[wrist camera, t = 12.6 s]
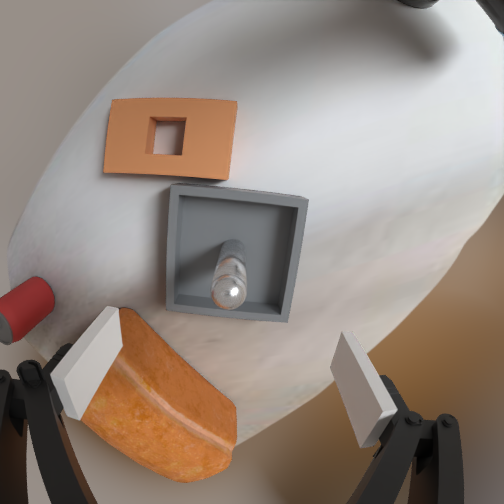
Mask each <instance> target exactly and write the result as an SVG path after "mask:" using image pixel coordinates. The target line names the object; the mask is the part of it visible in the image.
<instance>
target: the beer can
mask: <svg viewBox="0 0 504 504" xmlns="http://www.w3.org/2000/svg"><path fill="white" fill-rule="evenodd" d="M54 304H55V301H54V295H53V292H52V290H51V288H50V286H49V285H48V284H47V282H45V281H44V280H43V279H42V278H39V277H32V278H30V279H28V280H27V281H25V282H24V283H22V284H20V285H19V286H17V287H16V288H14V289H13V290H11V291H10V292H8V293H7V294H5V295H4V296H2V297H1V298H0V342H1V343H3V344H5V345H10V344H11V343H14V342H16V341H19V340H21V339H22V338H23V337H24V336H25V335H26V334H27V333H28V332H29V331H31V330H32V329H33V328H34V327H35V326H36V325H37V324H38V323H39V322H40V321H42V320H43V319H44V318H45V317H46V316H47V315H48V314H49V313H51V311H52V310H53V308H54Z"/></svg>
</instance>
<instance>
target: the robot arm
mask: <svg viewBox="0 0 504 504" xmlns="http://www.w3.org/2000/svg"><path fill="white" fill-rule="evenodd" d="M398 1H400V2H402V3H405V4H407V5H410V6H413V7H417V8H428V7H431V6H432V5H434V4H435V3H436V2H438V1H439V0H398ZM476 1H477V3H478V4H479V5H480V6H481V7H482V9H483V10H484V11H485V12H486V14H487V15H488V16H489V18H490V19H491V20H492V22H493V23H494V24H495V27H496V29H497V30H498V31H499V32H500V33H501V34H502V35H503V37H504V0H476ZM122 346H123V344H122V337H121V328H120V319H119V309H118V308H115V307H110V306H107V307H106V308H105V309H104V310H103V311H102V312H101V313H100V315H99V316H98V317H97V318H96V319H95V320H94V322H93V323H92V324H91V325H90V326H89V327H88V328H87V330H86V331H85V332H84V333H83V334H82V336H81V337H80V338H79V339H78V340H77V342H76V343H75V344H74V345H73V344H70V343H68V344H66V345H64V346H62V347H61V348H60V349H59V350H58V351H57V352H56V354H55V355H54V356H53V357H52V359H50V361H49V362H48V363H47V364H46V366H45V367H44V368H43V369H42V368H41V365H40V363H38V362H37V361H35V360H26V361H23V362H22V363H20V364H19V365H18V367H17V373H18V376H19V378H20V380H17V379H12V378H11V376H10V374H9V372H7V371H6V370H0V504H28V493H27V473H26V450H27V428H28V427H27V426H28V425H29V430H30V435H31V439H32V444H33V448H34V452H35V455H36V459H37V462H38V466H39V469H40V473H41V476H42V479H43V482H44V485H45V487H46V491H47V493H48V496H49V498H50V501H51V504H97V501H96V499H95V498H94V496H93V494H92V492H91V490H90V488H89V485H88V483H87V481H86V479H85V477H84V475H83V472H82V470H81V468H80V465H79V463H78V461H77V458H76V456H75V453H74V451H73V448H72V445H71V443H70V440H69V437H68V434H67V431H66V428H65V425H64V422H63V419H62V416H61V414H60V413H61V411H62V410H63V408H64V410H65V412H66V415H67V416H69V417H72V418H74V419H77V420H80V419H81V418H82V416H83V414H84V412H85V410H86V408H87V407H88V405H89V403H90V401H91V399H92V398H93V396H94V394H95V392H96V390H97V389H98V387H99V385H100V383H101V382H102V380H103V378H104V377H105V375H106V373H107V371H108V370H109V368H110V366H111V365H112V363H113V361H114V360H115V358H116V356H117V355H118V353H119V351H120V350H121V348H122ZM330 368H331V371H332V373H333V376H334V379H335V381H336V384H337V386H338V389H339V392H340V394H341V397H342V400H343V402H344V405H345V408H346V410H347V413H348V416H349V419H350V421H351V424H352V427H353V430H354V432H355V435H356V438H357V440H358V443H359V446H360V448H365V447H371V446H374V445H375V444H376V442H377V441H378V439H379V440H380V442H381V446H380V447H379V448H378V450H377V451H376V453H375V454H374V455H373V457H374V458H373V460H372V462H371V464H370V466H369V467H368V469H367V471H366V473H365V474H364V476H363V478H362V480H361V481H360V483H359V485H358V486H357V488H356V489H355V491H354V493H353V494H352V496H351V497H350V499H349V500H348V502H347V503H346V504H394V502H395V500H396V497H397V495H398V493H399V491H400V489H401V486H402V484H403V482H404V479H405V477H406V474H407V472H408V470H409V467H410V464H411V462H412V472H411V481H410V490H409V497H408V504H464V479H463V460H462V449H461V440H460V432H459V425H458V422H457V420H456V418H455V417H453V416H452V415H450V414H441V415H439V417H438V418H437V419H436V421H433V420H423V418H422V417H421V415H420V414H418V413H416V412H413V411H409V409H408V407H407V406H406V404H405V402H404V400H403V399H402V397H401V395H400V394H399V392H398V390H397V389H396V387H395V385H394V384H393V382H392V380H390V379H389V378H388V377H387V376H386V375H380V376H379V375H378V373H377V372H376V370H375V368H374V366H373V365H372V363H371V361H370V359H369V358H368V356H367V354H366V353H365V351H364V349H363V347H362V346H361V344H360V342H359V341H358V339H357V337H356V336H355V334H354V332H341V335H340V339H339V342H338V345H337V348H336V351H335V354H334V357H333V360H332V363H331V366H330Z"/></svg>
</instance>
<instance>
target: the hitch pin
mask: <svg viewBox="0 0 504 504" xmlns="http://www.w3.org/2000/svg"><path fill="white" fill-rule="evenodd" d="M210 294H211V298H212V300H213V301H214V303H215V304H216V305H217V306H219V307H220V308H223V309H228V310H230V309H235V308H237V307H239V306H240V305H241V304H242V303H243V302H244V301H245V299H246V295H247V279H246V253H245V247H244V245H243V243H242V242H240V241H239V240H236V239H230V240H227V241H226V242H224V243H223V245H222V247H221V250H220V254H219V258H218V261H217V265H216V269H215V273H214V277H213V280H212V284H211V289H210Z"/></svg>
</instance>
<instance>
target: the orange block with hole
mask: <svg viewBox="0 0 504 504" xmlns="http://www.w3.org/2000/svg"><path fill="white" fill-rule="evenodd" d="M236 114H237V101H228V100H215V99H197V98H133V99H115V100H112V104H111V110H110V116H109V123H108V131H107V139H106V148H105V158H104V170H103V173H136V174H157V175H174V176H188V177H200V178H212V179H222V180H228V179H229V171H230V162H231V154H232V145H233V137H234V129H235V122H236ZM157 121H186V126H185V134H184V142H183V150H182V155H162V154H153V148H154V140H155V132H156V124H157Z"/></svg>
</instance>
